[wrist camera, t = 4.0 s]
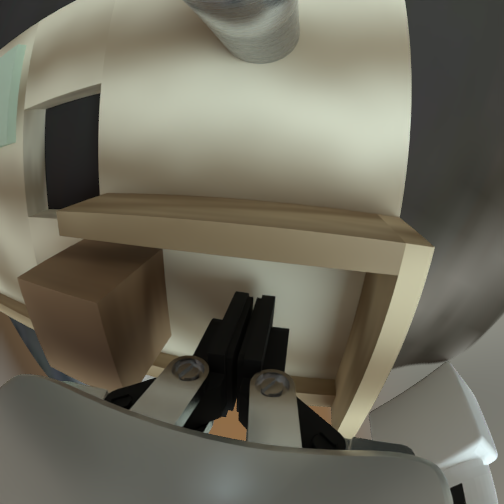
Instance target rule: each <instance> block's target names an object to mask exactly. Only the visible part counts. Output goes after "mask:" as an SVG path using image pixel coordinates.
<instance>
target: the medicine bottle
mask: <svg viewBox="0 0 504 504" xmlns="http://www.w3.org/2000/svg"><path fill="white" fill-rule="evenodd" d="M369 420H370V427H371V435H372V440H373V441H380V442H387V443H394V444H402V445H405V446H408V447H409V448H410V449H412V450H413V452H414V454H415V456H418V457H421V458H424V459H427V460H429V461H431V462H433V463H435V464H436V465H437V466H438V467H439V468H440V469H441V470H442V472H443V473H444V475H445V477H446V479H447V482H448V485H449V488H450V491H451V495H452V499H453V504H498V500H497V495H496V491H495V487H494V483H493V479H492V475H491V471H490V468H489V466H488V464H490V463H491V462H493V461H494V460H496V458H497V456H498V453H497V450H496V448H495V445H494V442H493V439H492V436H491V434H490V431H489V429H488V426H487V424H486V421H485V419H484V416H483V414H482V412H481V409H480V407H479V404H478V402H477V400H476V398H475V396H474V394H473V393H472V391H471V390H470V388H469V387H468V386H467V384H466V383H465V381H464V380H463V379H462V377H461V376H460V374H459V373H458V372H457V370H456V369H455V368H454V366H453V365H452V364H451V363H450V362H445V363H444V364H442V365H441V366H440V367H438V368H437V369H436V370H434V371H433V372H432V373H430V374H429V375H428V376H426V377H425V378H424V379H422V380H421V381H419V382H418V383H416V384H415V385H413V386H412V387H410V388H409V389H407V390H406V391H404V392H403V393H401V394H400V395H398V396H396V397H395V398H393V399H392V400H390V401H388V402H387V403H385V404H383V405H382V406H380V407H378V408H376V409H375V410H373V411H371V412H370V414H369Z"/></svg>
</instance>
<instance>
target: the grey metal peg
mask: <svg viewBox="0 0 504 504" xmlns="http://www.w3.org/2000/svg"><path fill="white" fill-rule="evenodd" d="M183 1H184V2H185V3H186V4H187V5H188V6H189V7H190V8H191V9H192V10H193V11H194V12H195V13H196V14H197V15H198V16H199V17H200V18H201V20H202V21H203V22H204V23H205V24H206V25H207V26H208V27H209V28H210V29H211V30H212V32H213V33H214V34H215V35H216V36H217V37H218V38H219V40H220V41H221V42H222V43H223V44H224V45H225V46H226V48H227V49H228V50H229V51H230V52H231V53H232V54H233V55H234V56H235V57H237V58H238V59H240V60H242V61H245V62H248V63H253V64H266V63H272V62H275V61H278V60H280V59H282V58H284V57H286V56H287V55H288V54H290V53H291V52H292V51H293V49H294V48H295V47H296V45H297V43H298V41H299V37H300V26H299V8H298V0H183Z"/></svg>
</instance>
